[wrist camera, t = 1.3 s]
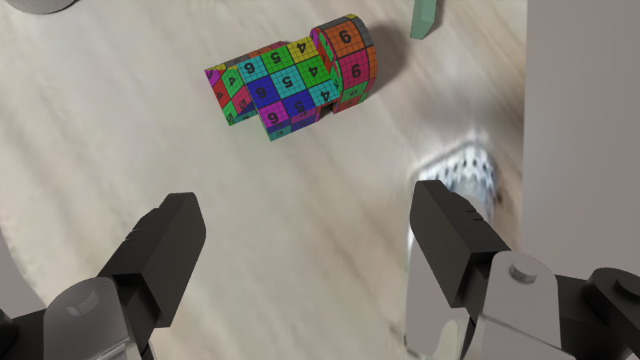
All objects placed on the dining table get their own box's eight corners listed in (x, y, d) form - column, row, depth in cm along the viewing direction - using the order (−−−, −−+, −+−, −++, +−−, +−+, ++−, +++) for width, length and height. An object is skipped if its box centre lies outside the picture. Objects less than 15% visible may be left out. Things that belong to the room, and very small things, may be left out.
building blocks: (325, 28, 34) (334, -35, 25) (362, 102, 33) (384, 63, 24) (206, 74, 32) (173, 22, 23) (242, 154, 31) (222, 131, 22)
